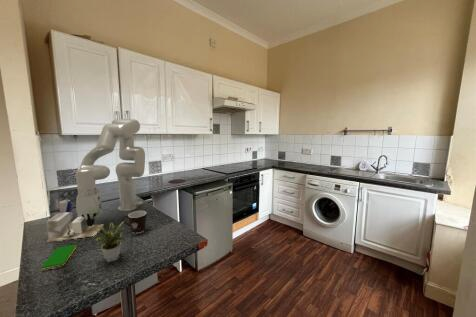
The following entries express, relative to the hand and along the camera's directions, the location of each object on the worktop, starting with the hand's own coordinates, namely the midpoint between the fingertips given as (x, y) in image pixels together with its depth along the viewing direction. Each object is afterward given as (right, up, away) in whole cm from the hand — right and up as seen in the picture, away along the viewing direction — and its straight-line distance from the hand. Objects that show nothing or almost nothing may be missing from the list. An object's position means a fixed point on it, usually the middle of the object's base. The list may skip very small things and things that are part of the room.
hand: (90, 225), depth 106 cm
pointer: (-6, -3, -6) cm, 9 cm away
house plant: (+23, -8, -21) cm, 33 cm away
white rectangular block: (-4, -2, -2) cm, 5 cm away
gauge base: (-6, -4, -1) cm, 7 cm away
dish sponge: (+3, -8, -21) cm, 23 cm away
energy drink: (-23, -2, +13) cm, 27 cm away
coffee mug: (+23, -4, +2) cm, 24 cm away
